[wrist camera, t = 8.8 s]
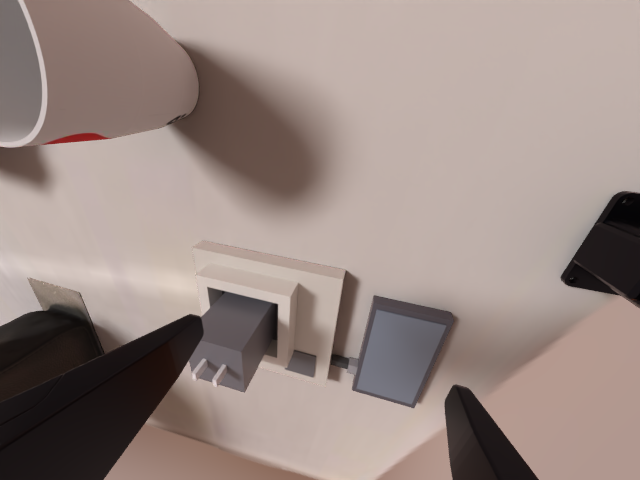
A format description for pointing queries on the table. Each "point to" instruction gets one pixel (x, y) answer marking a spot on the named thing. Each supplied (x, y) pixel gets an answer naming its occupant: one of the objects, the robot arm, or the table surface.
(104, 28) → the cup
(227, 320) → the charger block
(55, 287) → the shoulder bag
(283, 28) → the table surface
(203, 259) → the outlet plate
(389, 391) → the phone
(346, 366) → the black and grey bar
